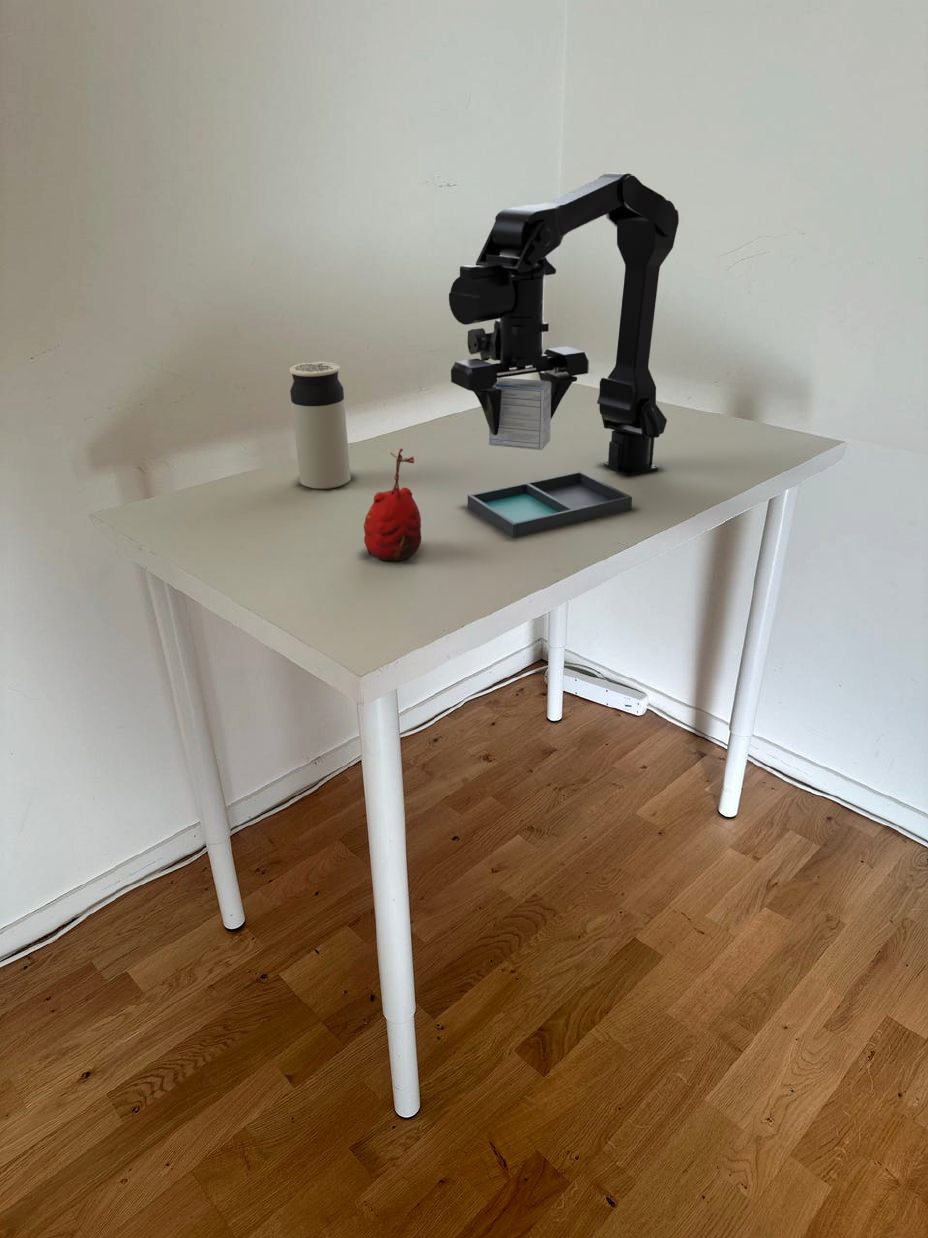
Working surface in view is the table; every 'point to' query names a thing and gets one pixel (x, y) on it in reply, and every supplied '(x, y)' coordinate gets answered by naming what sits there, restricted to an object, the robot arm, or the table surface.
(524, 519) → the organiser tray
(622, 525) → the table surface
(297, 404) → the travel mug
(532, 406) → the medicine box
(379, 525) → the red lumpy rounded piece
